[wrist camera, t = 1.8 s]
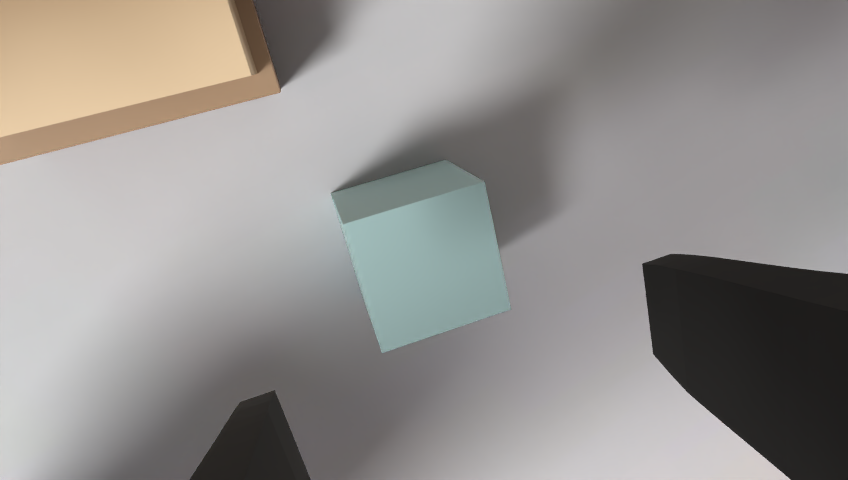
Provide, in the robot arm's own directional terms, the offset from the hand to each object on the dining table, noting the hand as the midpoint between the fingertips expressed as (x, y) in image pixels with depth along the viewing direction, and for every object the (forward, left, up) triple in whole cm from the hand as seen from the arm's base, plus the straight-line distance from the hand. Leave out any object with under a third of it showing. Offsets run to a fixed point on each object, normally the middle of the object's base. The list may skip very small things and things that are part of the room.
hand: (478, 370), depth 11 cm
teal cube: (0, 0, -10) cm, 10 cm away
